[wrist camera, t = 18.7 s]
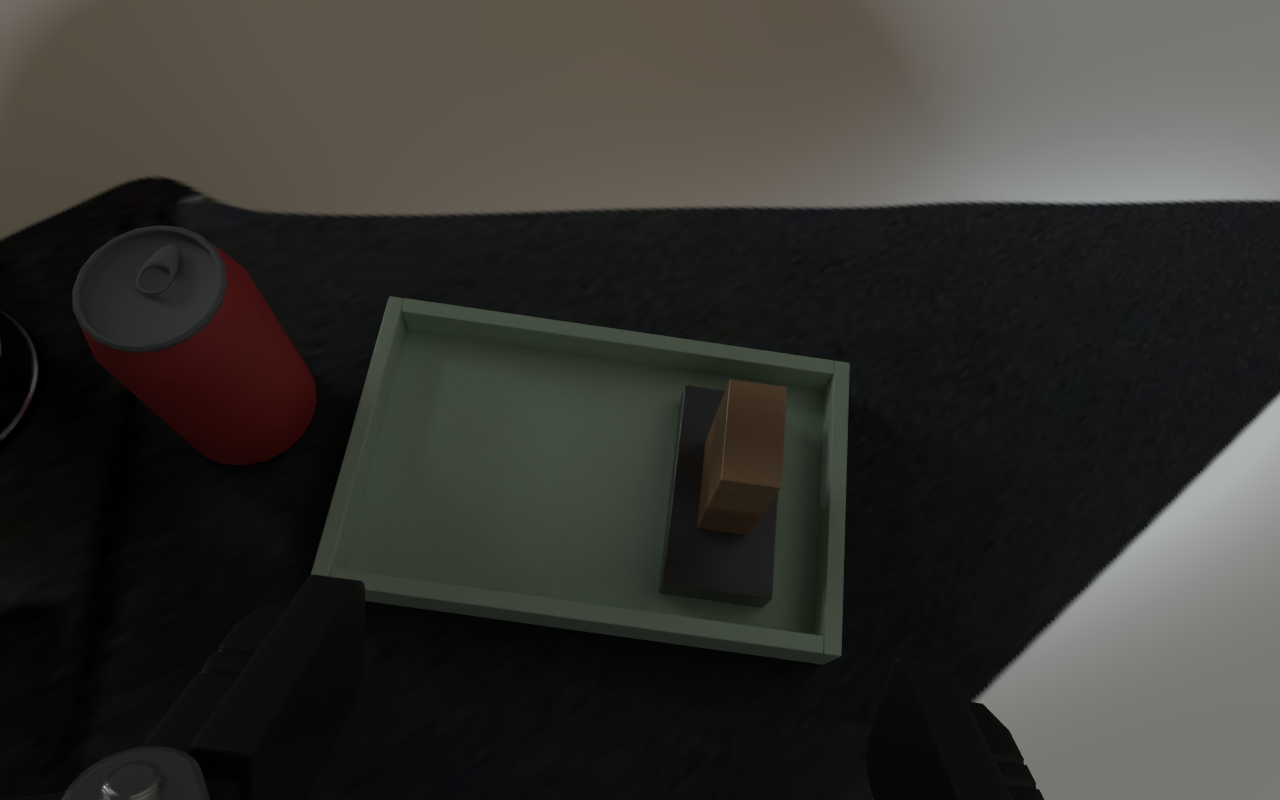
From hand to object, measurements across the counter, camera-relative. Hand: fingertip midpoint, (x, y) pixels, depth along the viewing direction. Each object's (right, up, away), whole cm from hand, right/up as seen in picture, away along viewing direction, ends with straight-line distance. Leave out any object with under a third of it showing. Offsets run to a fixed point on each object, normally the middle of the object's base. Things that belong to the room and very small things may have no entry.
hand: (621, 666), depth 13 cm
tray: (-2, 0, +31) cm, 31 cm away
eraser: (+4, -1, +30) cm, 30 cm away
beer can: (-19, +4, +31) cm, 37 cm away
